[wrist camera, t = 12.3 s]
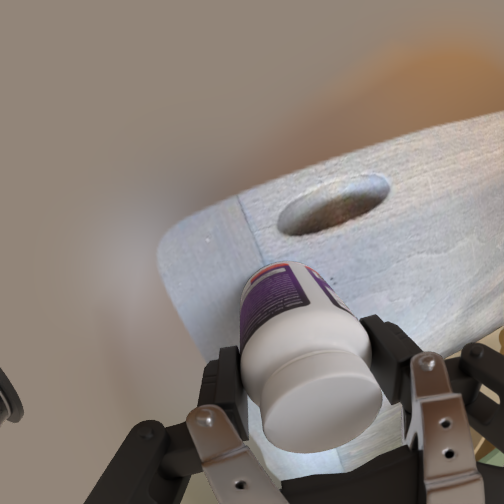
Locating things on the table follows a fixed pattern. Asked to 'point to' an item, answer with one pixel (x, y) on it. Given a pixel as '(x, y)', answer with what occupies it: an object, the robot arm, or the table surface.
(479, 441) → the drawer
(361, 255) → the table surface
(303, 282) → the pill bottle
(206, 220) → the table surface
